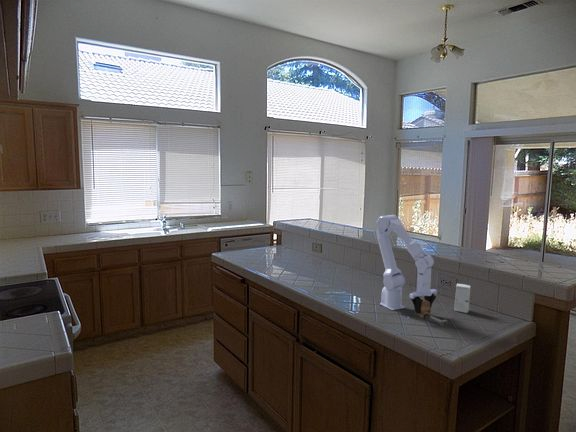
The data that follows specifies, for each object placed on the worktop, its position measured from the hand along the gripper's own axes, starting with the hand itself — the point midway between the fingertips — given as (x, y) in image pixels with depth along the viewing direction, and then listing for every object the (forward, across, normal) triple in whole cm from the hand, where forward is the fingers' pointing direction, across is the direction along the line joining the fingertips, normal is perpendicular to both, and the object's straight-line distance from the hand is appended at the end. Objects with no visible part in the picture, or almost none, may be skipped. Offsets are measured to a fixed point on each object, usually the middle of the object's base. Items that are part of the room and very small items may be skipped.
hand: (422, 311), depth 173 cm
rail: (+2, 0, -4) cm, 5 cm away
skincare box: (+2, +21, -4) cm, 21 cm away
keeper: (+2, 0, 0) cm, 2 cm away
